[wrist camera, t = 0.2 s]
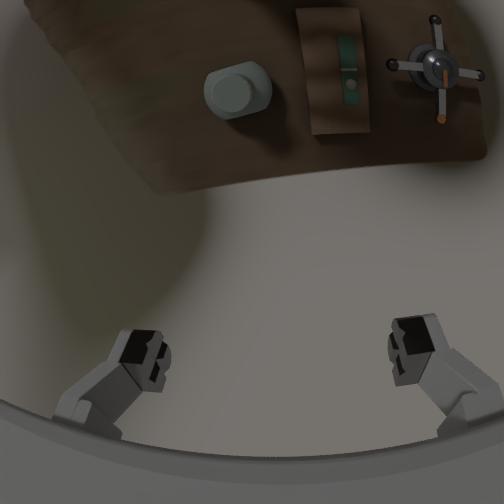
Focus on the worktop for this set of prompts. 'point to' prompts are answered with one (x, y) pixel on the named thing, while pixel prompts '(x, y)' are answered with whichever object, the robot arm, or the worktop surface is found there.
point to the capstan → (436, 68)
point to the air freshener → (238, 90)
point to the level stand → (334, 69)
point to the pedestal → (413, 73)
